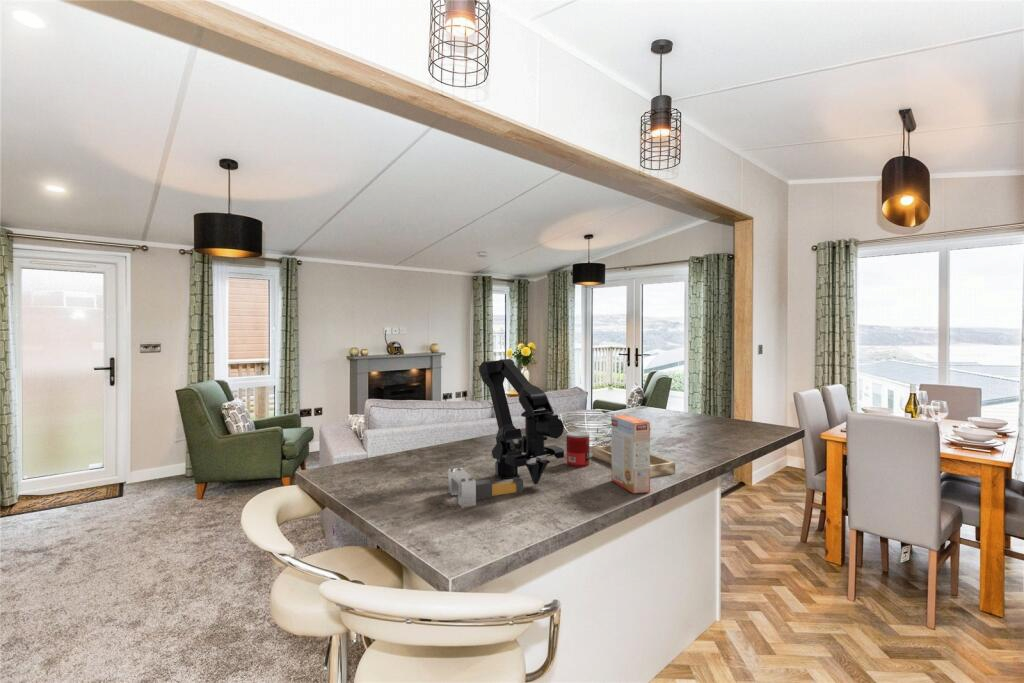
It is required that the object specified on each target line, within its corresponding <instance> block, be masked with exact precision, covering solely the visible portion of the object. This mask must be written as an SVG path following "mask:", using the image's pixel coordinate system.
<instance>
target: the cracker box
mask: <svg viewBox="0 0 1024 683" xmlns="http://www.w3.org/2000/svg"><path fill="white" fill-rule="evenodd" d="M611 445H612V464H611V481H612V482H614V483H616V484H617V485H619V486H621V487H622V488H623V489H625V490H626V491H628V492H629V493H631V494H633V495H634V494H636V495H637V494H644V493H645V494H646V493H651V477H650V454H651V422H650V421H648V420H643V419H642V418H638V417H635V416H631V415H629V414H616V415H615V414H614V415H611Z"/></svg>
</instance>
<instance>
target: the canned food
mask: <svg viewBox="0 0 1024 683" xmlns="http://www.w3.org/2000/svg"><path fill="white" fill-rule="evenodd" d="M566 463H567V465H568V466H569V467H574V468H585V467H588V466H589V465H590V434H589V432H587V431H576V430H575V431H569V432H567V433H566Z"/></svg>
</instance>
